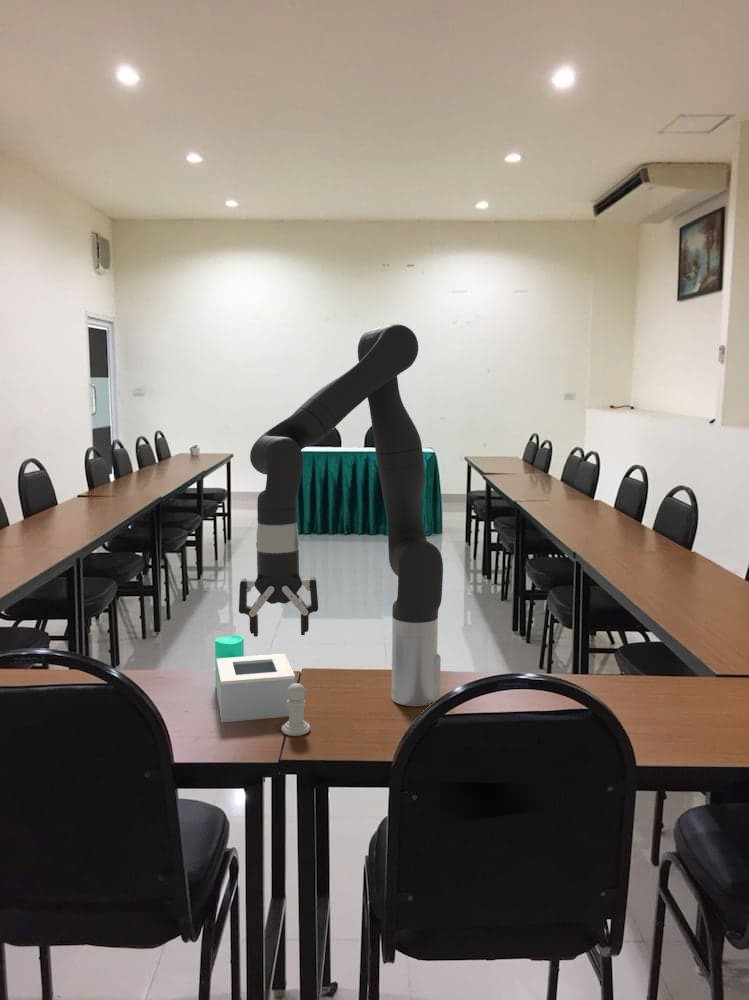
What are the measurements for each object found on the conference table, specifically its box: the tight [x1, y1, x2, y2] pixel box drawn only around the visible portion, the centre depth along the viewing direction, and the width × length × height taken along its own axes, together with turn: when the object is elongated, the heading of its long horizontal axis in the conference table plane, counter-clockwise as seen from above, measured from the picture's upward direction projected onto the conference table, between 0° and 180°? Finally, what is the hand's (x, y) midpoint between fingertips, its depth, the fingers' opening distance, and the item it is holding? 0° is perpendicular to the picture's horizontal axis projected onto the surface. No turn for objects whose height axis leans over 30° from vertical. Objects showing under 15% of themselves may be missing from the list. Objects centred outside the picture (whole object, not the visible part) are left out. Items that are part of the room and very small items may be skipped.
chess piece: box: [280, 682, 311, 737], centre depth 142 cm, size 5×5×9 cm
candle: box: [214, 631, 245, 689], centre depth 164 cm, size 6×6×12 cm
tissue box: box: [216, 653, 296, 723], centre depth 154 cm, size 14×14×8 cm
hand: (279, 634), depth 142 cm, fingers open, 8 cm apart
